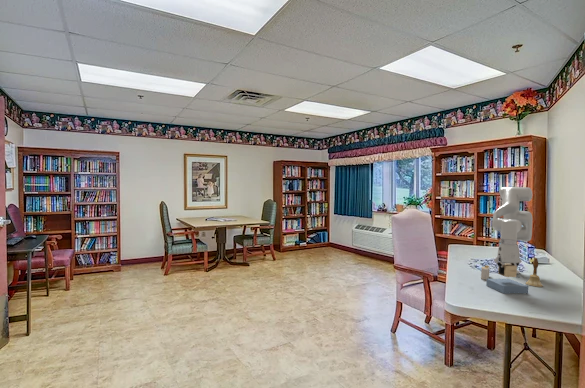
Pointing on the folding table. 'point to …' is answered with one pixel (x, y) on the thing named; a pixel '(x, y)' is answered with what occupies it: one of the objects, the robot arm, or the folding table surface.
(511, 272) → the oak cube
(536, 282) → the hand bell
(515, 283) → the slate base
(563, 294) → the folding table surface
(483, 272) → the model
